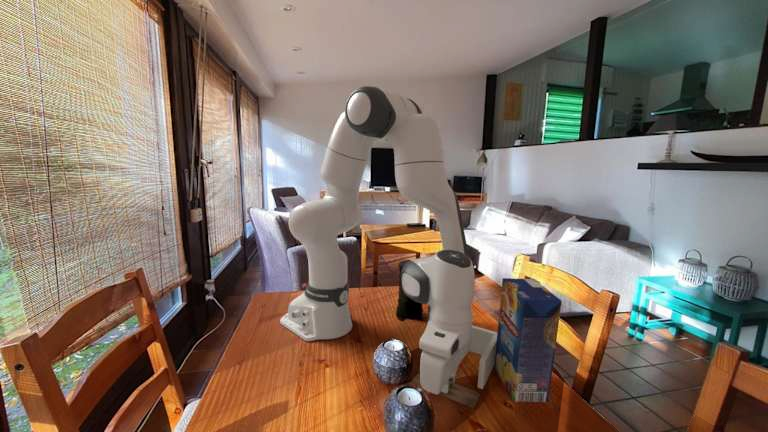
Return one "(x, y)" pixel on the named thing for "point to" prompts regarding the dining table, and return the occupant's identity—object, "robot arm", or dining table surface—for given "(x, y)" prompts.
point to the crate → (484, 352)
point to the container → (407, 302)
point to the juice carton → (526, 339)
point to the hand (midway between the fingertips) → (447, 386)
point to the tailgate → (456, 393)
